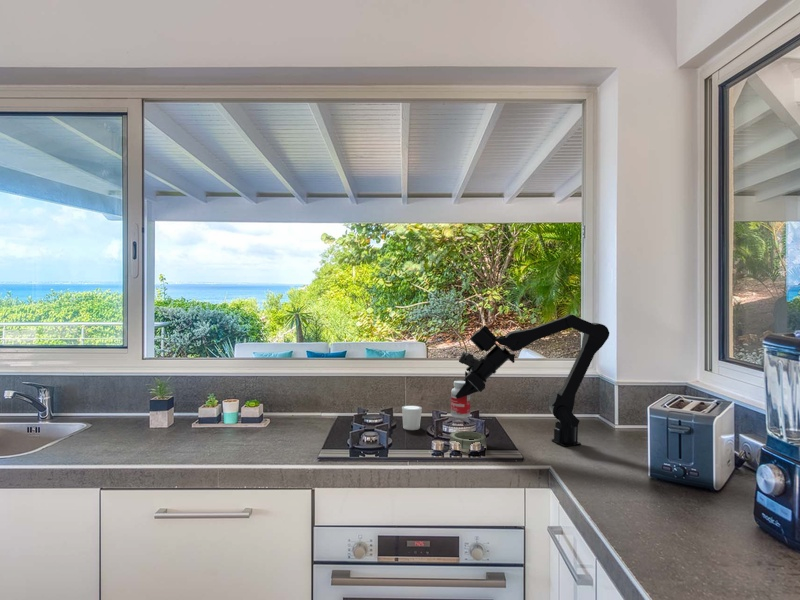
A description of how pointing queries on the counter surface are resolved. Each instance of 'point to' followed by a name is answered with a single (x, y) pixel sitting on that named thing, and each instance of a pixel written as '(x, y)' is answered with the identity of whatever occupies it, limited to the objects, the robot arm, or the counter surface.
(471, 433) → the ring holder
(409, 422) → the white cup
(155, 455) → the counter surface
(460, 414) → the pill bottle
